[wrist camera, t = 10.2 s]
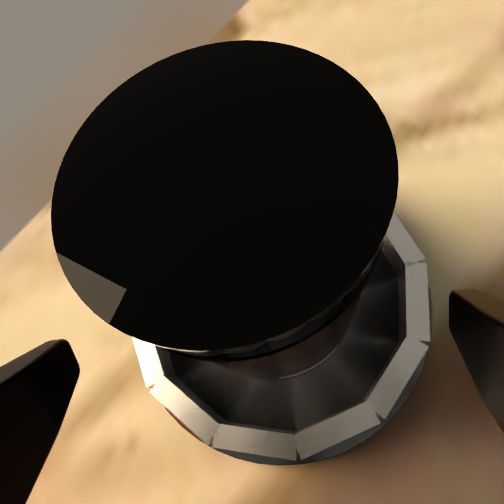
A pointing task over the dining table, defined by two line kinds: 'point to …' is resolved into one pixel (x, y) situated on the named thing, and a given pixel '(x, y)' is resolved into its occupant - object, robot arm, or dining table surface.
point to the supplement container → (229, 206)
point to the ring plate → (311, 376)
